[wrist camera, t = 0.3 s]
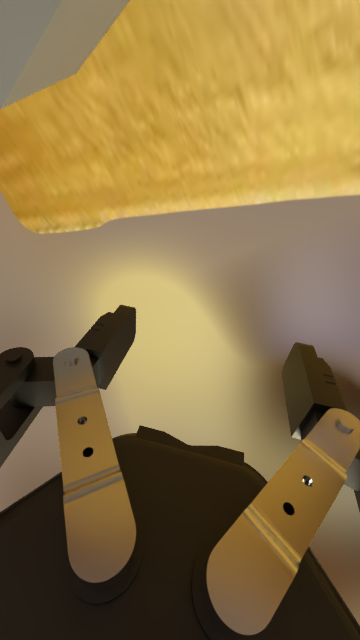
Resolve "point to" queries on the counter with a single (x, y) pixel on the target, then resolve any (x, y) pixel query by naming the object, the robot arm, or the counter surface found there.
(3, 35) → the bearing block
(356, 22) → the counter surface
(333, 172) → the counter surface
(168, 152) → the counter surface
